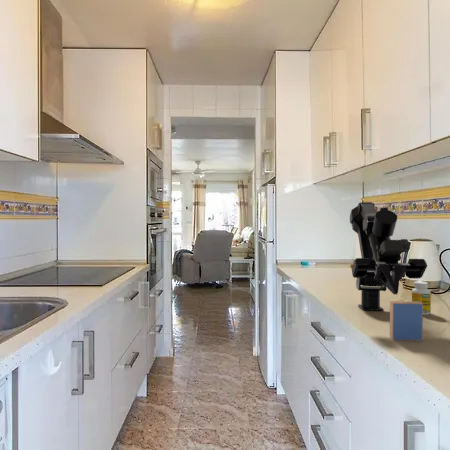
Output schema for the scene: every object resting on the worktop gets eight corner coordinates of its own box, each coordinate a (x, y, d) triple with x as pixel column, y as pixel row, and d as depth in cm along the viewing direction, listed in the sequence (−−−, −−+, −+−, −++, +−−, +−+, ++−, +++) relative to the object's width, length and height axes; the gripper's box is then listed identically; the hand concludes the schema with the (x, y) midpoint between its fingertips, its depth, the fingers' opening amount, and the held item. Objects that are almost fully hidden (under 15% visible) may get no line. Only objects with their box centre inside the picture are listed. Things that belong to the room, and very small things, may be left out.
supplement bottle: (420, 310, 127) (420, 280, 127) (434, 314, 123) (435, 283, 122) (407, 312, 125) (407, 281, 125) (422, 315, 120) (422, 284, 120)
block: (389, 337, 98) (390, 301, 98) (419, 338, 97) (419, 301, 97) (392, 340, 96) (393, 303, 96) (422, 340, 95) (423, 303, 95)
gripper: (354, 228, 109) (365, 274, 98) (424, 229, 108) (443, 275, 97) (347, 255, 117) (357, 299, 106) (412, 255, 116) (429, 300, 105)
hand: (396, 293), depth 103 cm, fingers closed
